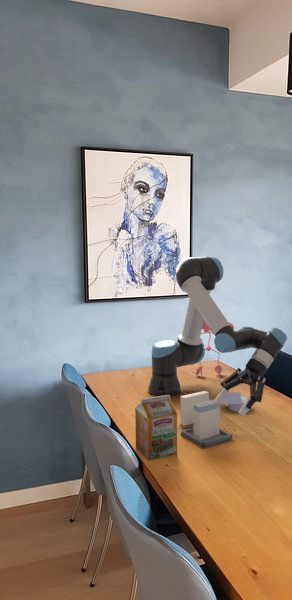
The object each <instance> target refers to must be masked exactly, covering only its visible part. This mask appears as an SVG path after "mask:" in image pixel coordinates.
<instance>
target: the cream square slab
mask: <svg viewBox="0 0 292 600" xmlns="http://www.w3.org/2000/svg"><path fill="white" fill-rule="evenodd" d="M210 398H211V397H210V391H207V390H202V391H198V392H194V393H189V394H185V395H180V422H179V424H180V425H179V427H180V428H182V429H183V430H185V429H189V428H193V427H194V404H197V403H201V402H205V401H209V400H210Z"/></svg>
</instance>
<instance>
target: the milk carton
mask: <svg viewBox="0 0 292 600" xmlns="http://www.w3.org/2000/svg"><path fill="white" fill-rule="evenodd" d="M134 412H135V448H136V449H137V450H138V452H140V454H141V455H142V456H143V457H144V458H145V459H146V460H147V461H152V460H157V459H158V460H159V459H163V458H166V457H171V456H177V455H178V413H177V409H176V408H175V406H174V403H173V402H172V399H171V396H170V395H164V396H153V397H151V396H150V397H147V398H145V397H144V398H142V399H141V400H140V403H139V404H137V405H136V407H135V411H134Z"/></svg>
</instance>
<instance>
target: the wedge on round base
mask: <svg viewBox="0 0 292 600" xmlns="http://www.w3.org/2000/svg"><path fill="white" fill-rule="evenodd" d="M248 398H249V397H244V396H241V392H229V391H228V393H227V395H226V396H225V398H224V399H223V401H222V402H221V404H220V405H223V404H226V405H228V408H229V409H230V410H231V411H233V412H237V413H238V412H239V411H240V409H241V408H242V406H243V405H244V403H245V402H246V400H247V399H248ZM249 411H251V409H249V410H248V411H247V412H249Z"/></svg>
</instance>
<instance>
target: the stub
mask: <svg viewBox="0 0 292 600" xmlns="http://www.w3.org/2000/svg"><path fill="white" fill-rule="evenodd" d="M220 408H221V404H220V402H218V401H215V399H209V401H205V402H201V403H197V404H194V426H193V427H194V436H195V437H197V438H198V439H200V440H202V439H205V438H208V437H212V436H215V435H218V434H219V428H220V412H221V411H220Z"/></svg>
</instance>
